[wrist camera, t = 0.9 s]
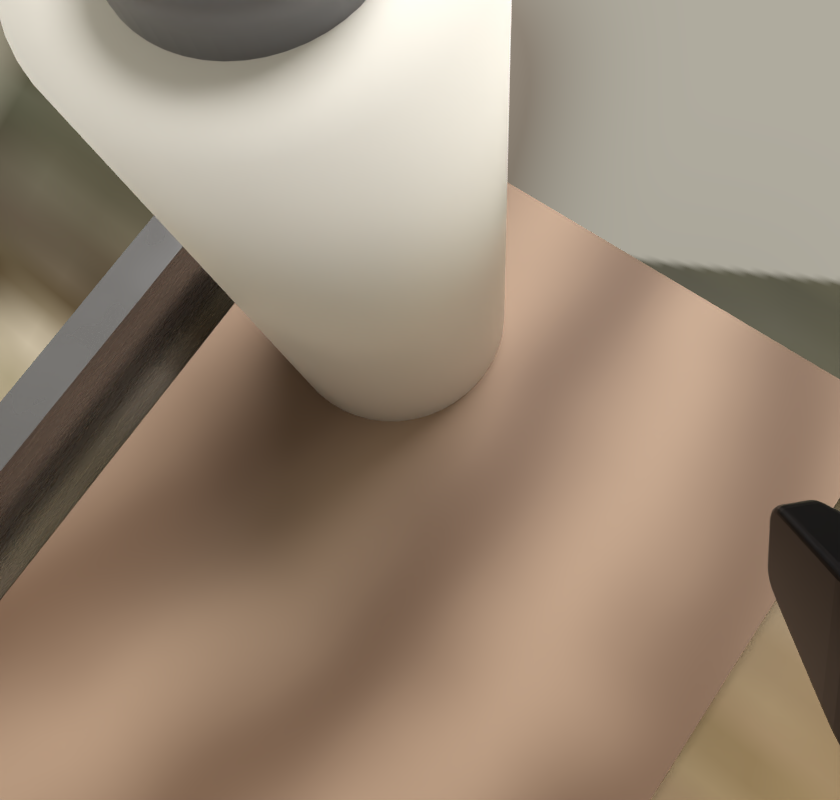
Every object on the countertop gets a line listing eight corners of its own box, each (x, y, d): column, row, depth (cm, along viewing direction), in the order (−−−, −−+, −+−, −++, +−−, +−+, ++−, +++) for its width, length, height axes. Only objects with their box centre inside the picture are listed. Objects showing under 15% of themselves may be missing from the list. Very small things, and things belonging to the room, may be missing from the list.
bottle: (442, 459, 20) (323, 189, 6) (249, 363, 21) (-198, -39, 8) (543, 263, 21) (625, -330, 8) (353, 181, 22) (125, -462, 9)
